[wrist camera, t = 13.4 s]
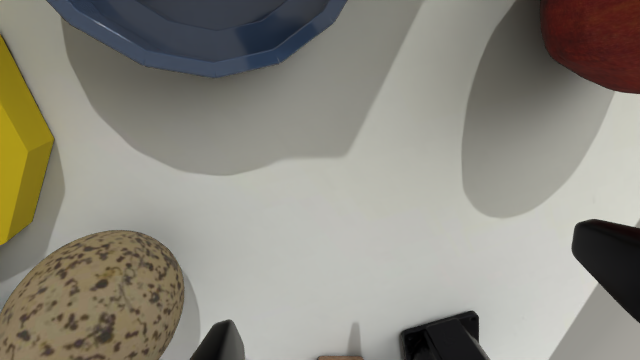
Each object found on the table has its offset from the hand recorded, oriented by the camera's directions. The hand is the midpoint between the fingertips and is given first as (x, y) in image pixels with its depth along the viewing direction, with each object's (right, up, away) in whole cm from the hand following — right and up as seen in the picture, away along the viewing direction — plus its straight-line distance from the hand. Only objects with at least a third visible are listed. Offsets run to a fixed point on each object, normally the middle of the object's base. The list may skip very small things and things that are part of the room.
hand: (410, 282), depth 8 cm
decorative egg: (-14, -2, +12) cm, 18 cm away
